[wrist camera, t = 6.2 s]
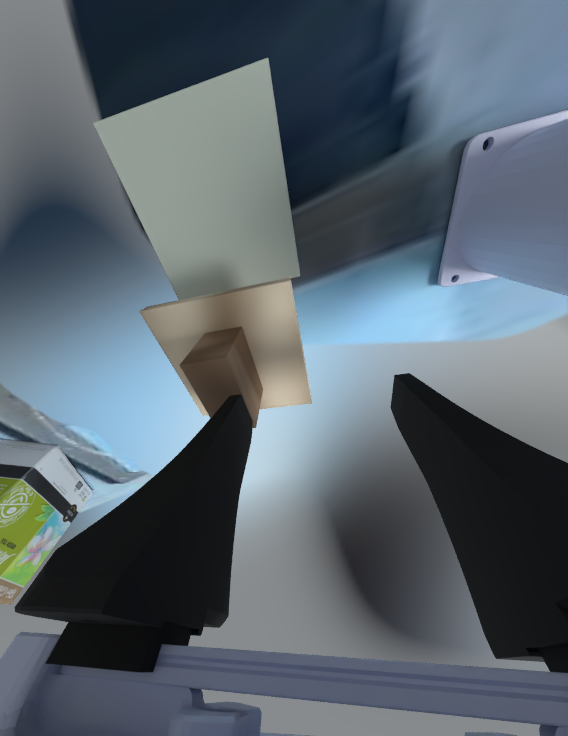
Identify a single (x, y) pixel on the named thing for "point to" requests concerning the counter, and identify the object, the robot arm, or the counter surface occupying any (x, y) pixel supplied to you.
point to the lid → (235, 346)
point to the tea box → (33, 508)
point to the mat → (209, 182)
